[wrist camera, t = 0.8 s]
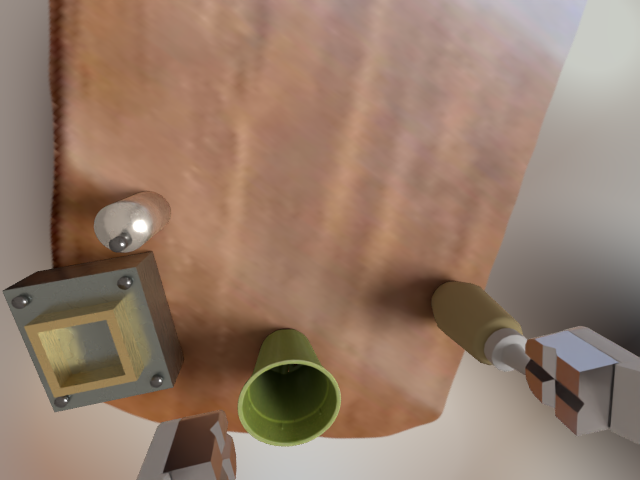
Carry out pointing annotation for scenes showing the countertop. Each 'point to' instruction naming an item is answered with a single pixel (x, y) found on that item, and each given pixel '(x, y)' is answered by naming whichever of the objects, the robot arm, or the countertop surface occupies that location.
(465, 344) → the squeeze bottle
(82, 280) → the grey square housing block
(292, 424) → the plant pot
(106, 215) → the spout can
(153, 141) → the countertop surface
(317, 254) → the countertop surface
